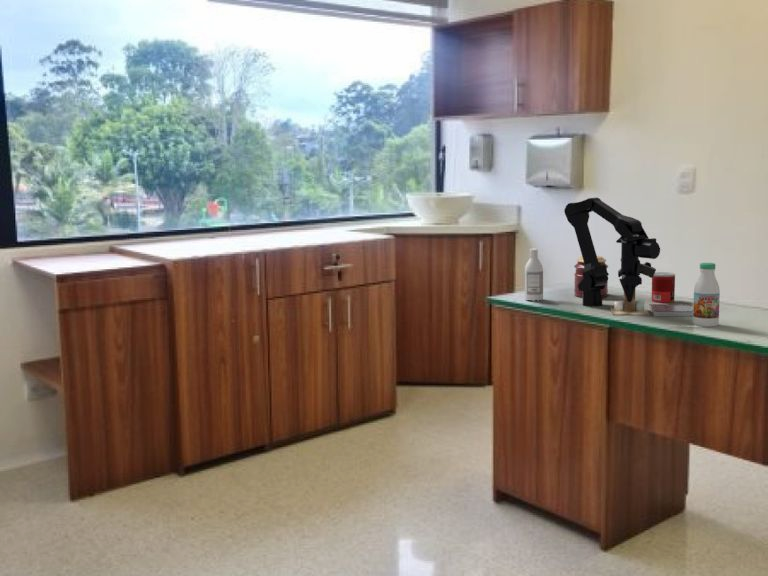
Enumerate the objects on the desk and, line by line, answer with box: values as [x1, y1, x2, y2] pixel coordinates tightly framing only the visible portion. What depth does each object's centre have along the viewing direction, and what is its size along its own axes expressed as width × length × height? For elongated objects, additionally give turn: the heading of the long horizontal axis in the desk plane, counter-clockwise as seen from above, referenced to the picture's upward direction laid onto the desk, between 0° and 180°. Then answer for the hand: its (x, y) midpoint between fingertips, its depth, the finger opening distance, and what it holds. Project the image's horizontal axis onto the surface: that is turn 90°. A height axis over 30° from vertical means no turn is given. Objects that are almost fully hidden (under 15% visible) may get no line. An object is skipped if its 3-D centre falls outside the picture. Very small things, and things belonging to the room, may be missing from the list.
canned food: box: [651, 271, 676, 304], centre depth 284 cm, size 8×8×11 cm
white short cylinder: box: [613, 300, 624, 311], centre depth 269 cm, size 3×3×3 cm
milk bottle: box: [692, 262, 720, 328], centre depth 246 cm, size 8×8×20 cm
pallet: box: [609, 289, 650, 316], centre depth 268 cm, size 12×12×10 cm
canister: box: [573, 255, 609, 298], centre depth 303 cm, size 13×13×18 cm
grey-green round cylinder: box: [635, 300, 645, 311], centre depth 267 cm, size 3×3×3 cm
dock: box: [648, 303, 693, 317], centre depth 265 cm, size 13×13×2 cm
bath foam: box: [524, 248, 544, 302], centre depth 298 cm, size 7×7×20 cm
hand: (629, 300), depth 268 cm, fingers closed on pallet, 3 cm apart
